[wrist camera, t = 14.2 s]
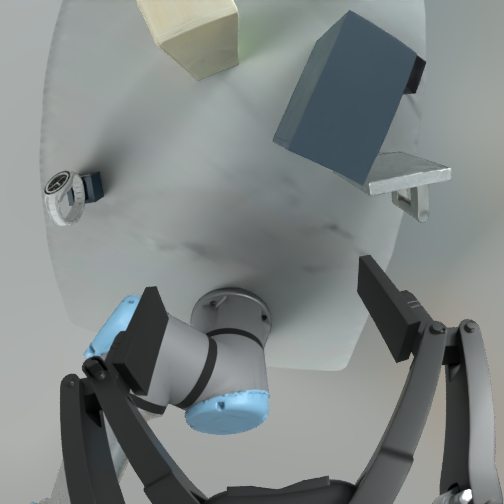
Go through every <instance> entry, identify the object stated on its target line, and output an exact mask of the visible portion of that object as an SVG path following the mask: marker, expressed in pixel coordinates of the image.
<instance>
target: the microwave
mask: <svg viewBox="0 0 504 504" xmlns="http://www.w3.org/2000/svg"><path fill="white" fill-rule="evenodd" d="M425 65H426V61H424V60H423V59H422V58H421V57H419V56H418V55H417V53H416V52H414V51H413V50H412V49H410V48H409V47H408V46H406V45H405V44H404V43H402V42H401V41H399V40H398V39H397V38H395V37H394V36H392V35H391V34H389V33H388V32H386V31H385V30H383V29H382V28H380V27H378V26H377V25H375V24H373V23H372V22H370V21H368V20H367V19H365V18H363V17H362V16H360V15H358V14H356V13H354V12H353V11H351V10H349V11H348V12H347V13H346V14H345V15H344V16H343V17H342V18H341V19H340V20H338V21H337V22H336V23H335V24H334V25H333V26H332V27H331V28H330V29H329V30H328V31H327V32H326V33H325V34H324V35H323V36H322V37H321V38H320V39H318V40H317V42H316V44H315V46H314V48H313V50H312V53H311V55H310V57H309V59H308V61H307V64H306V66H305V68H304V70H303V72H302V75H301V77H300V79H299V81H298V83H297V86H296V88H295V90H294V92H293V95H292V97H291V99H290V102H289V104H288V106H287V108H286V111H285V113H284V115H283V118H282V120H281V122H280V124H279V127H278V129H277V131H276V134H275V136H274V138H273V141H274V142H275V143H277V144H279V145H280V146H282V147H284V148H285V149H287V150H289V151H291V152H293V153H296V154H298V155H300V156H303V157H305V158H307V159H309V160H312V161H314V162H316V163H318V164H320V165H322V166H324V167H327V168H329V169H331V170H333V171H335V172H337V173H339V174H341V175H343V176H345V177H347V178H349V179H351V180H353V181H355V182H357V183H359V184H360V185H363V184H364V182H365V180H366V178H367V176H368V174H369V172H370V170H371V167H372V165H373V163H374V161H375V159H376V157H377V154H378V152H379V150H380V148H381V145H382V143H383V141H384V139H385V136H386V134H387V132H388V129H389V127H390V124H391V122H392V120H393V117H394V115H395V112H396V110H397V107H398V105H399V102H400V100H401V97H402V95H403V94H414V93H416V90H417V88H418V85H419V83H420V81H421V76H422V74H423V71H424V68H425Z"/></svg>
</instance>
